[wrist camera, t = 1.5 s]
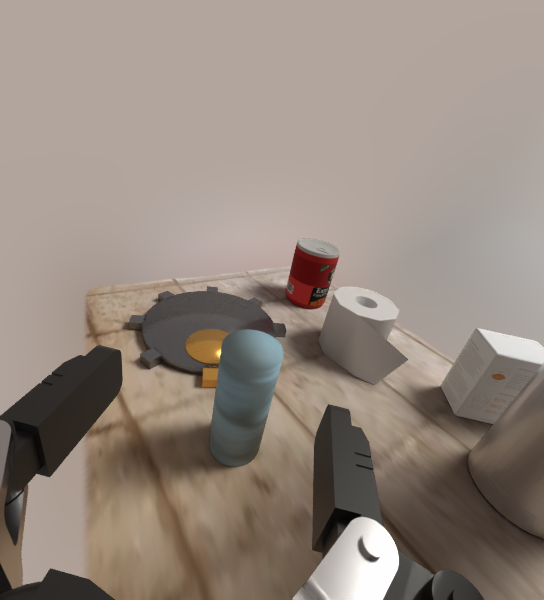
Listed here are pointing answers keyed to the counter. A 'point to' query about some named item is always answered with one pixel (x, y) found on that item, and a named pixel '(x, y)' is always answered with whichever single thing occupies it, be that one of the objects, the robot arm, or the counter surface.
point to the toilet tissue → (361, 333)
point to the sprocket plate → (198, 329)
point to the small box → (490, 374)
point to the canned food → (311, 272)
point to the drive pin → (243, 395)
